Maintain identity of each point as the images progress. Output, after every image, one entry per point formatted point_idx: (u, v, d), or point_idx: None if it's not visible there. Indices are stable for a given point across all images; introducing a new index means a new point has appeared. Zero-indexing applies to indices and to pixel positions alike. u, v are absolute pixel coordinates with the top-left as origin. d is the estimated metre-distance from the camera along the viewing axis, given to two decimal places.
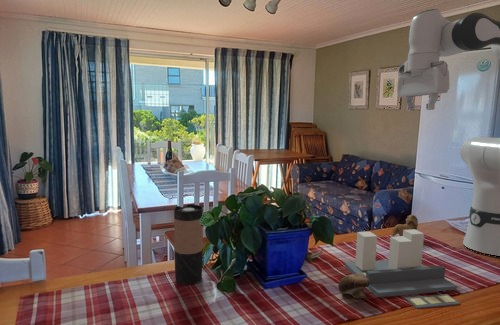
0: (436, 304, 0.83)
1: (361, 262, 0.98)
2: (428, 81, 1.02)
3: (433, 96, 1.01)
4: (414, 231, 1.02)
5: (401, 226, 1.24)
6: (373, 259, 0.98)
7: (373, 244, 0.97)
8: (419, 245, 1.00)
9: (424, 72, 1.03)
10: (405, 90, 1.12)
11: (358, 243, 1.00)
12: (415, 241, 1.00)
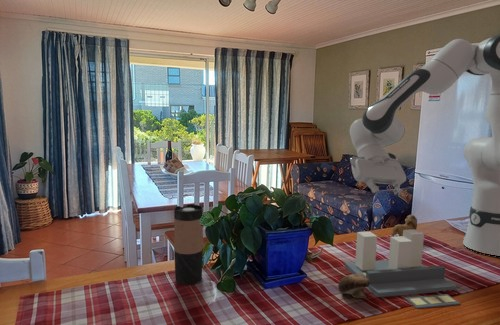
0: (436, 304, 0.83)
1: (361, 262, 0.98)
2: None
3: (366, 182, 1.13)
4: (414, 231, 1.02)
5: (400, 226, 1.24)
6: (373, 259, 0.98)
7: (373, 244, 0.97)
8: (419, 245, 1.00)
9: None
10: None
11: (358, 243, 1.00)
12: (415, 241, 1.00)
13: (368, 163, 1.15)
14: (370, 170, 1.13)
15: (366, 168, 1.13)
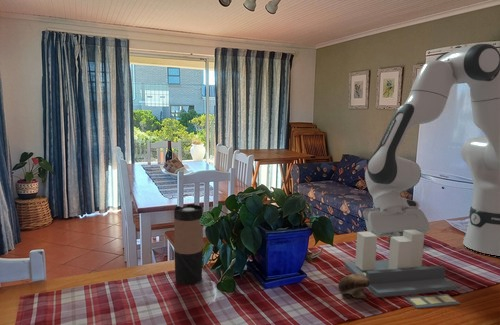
0: (436, 304, 0.83)
1: (361, 262, 0.98)
2: None
3: (393, 236, 1.07)
4: (415, 231, 1.02)
5: None
6: (373, 259, 0.98)
7: (373, 244, 0.97)
8: (419, 245, 1.00)
9: None
10: None
11: (358, 243, 1.00)
12: (416, 241, 1.00)
13: (383, 215, 1.09)
14: (385, 224, 1.07)
15: (380, 221, 1.07)
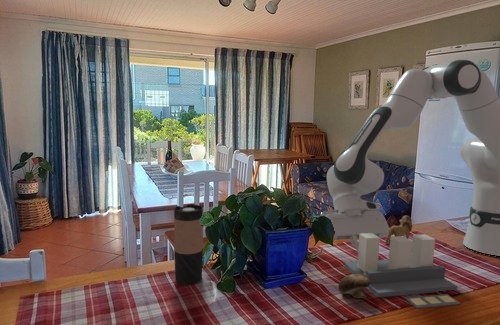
0: (436, 304, 0.83)
1: (363, 264, 0.97)
2: None
3: (350, 240, 1.03)
4: (425, 236, 0.98)
5: (397, 227, 1.22)
6: (375, 261, 0.97)
7: (376, 246, 0.96)
8: (430, 251, 0.96)
9: None
10: None
11: (360, 245, 0.98)
12: (426, 247, 0.96)
13: (340, 218, 1.05)
14: (341, 227, 1.03)
15: (336, 225, 1.03)
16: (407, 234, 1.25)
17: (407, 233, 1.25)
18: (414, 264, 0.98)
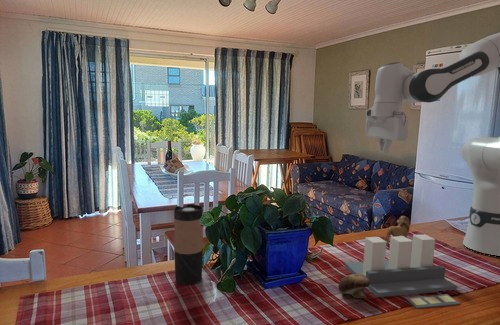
0: (436, 304, 0.83)
1: (369, 269, 0.94)
2: (390, 128, 1.12)
3: (387, 141, 1.16)
4: (425, 236, 0.98)
5: (395, 228, 1.21)
6: (382, 266, 0.94)
7: (382, 250, 0.93)
8: (430, 251, 0.96)
9: (387, 119, 1.14)
10: (372, 132, 1.23)
11: (366, 249, 0.95)
12: (426, 247, 0.96)
13: None
14: None
15: None
16: (405, 235, 1.25)
17: (405, 234, 1.25)
18: (414, 264, 0.98)
